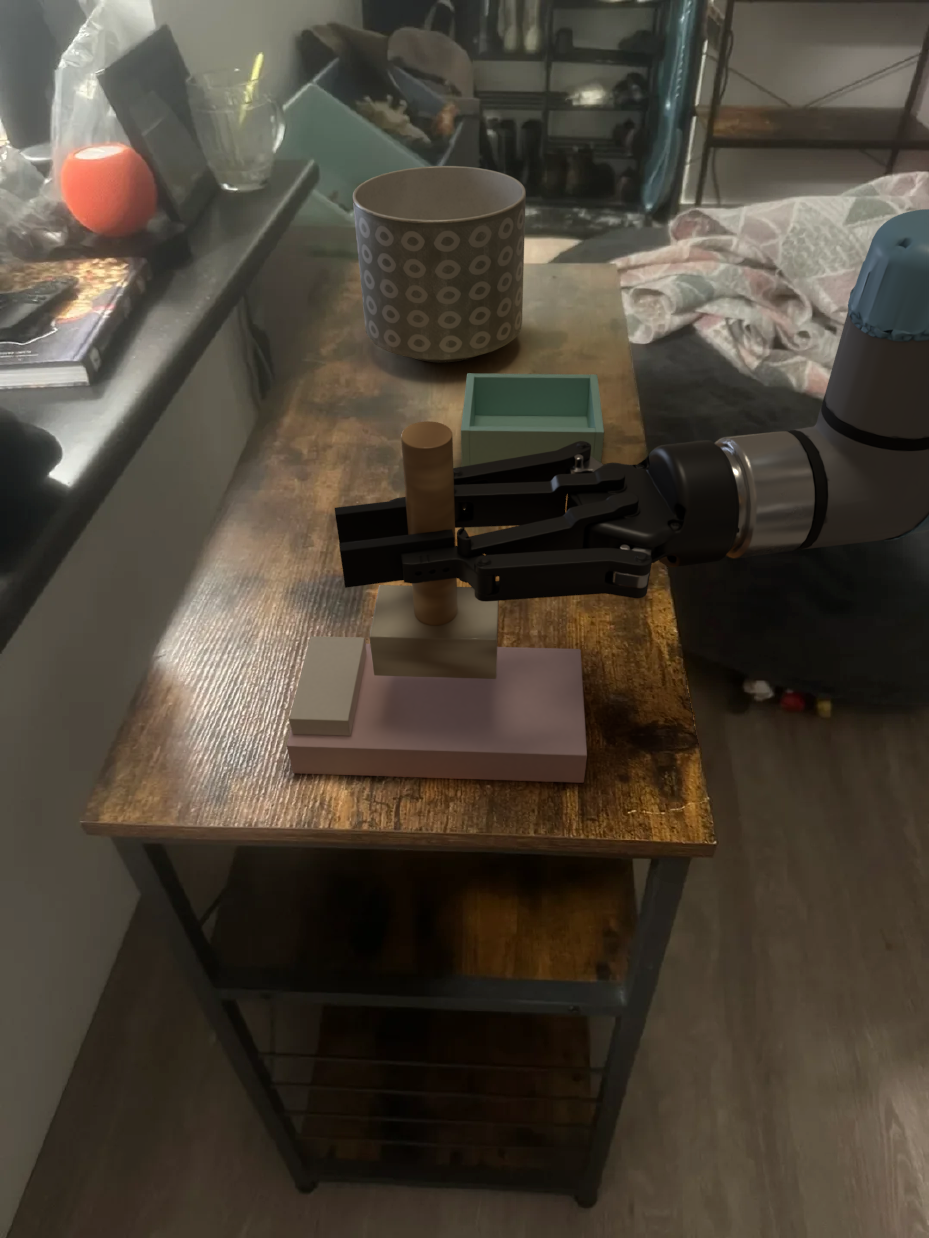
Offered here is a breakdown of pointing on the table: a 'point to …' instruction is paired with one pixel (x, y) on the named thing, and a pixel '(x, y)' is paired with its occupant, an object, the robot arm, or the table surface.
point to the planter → (441, 260)
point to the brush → (432, 582)
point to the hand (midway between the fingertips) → (340, 547)
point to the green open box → (529, 415)
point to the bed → (439, 717)
